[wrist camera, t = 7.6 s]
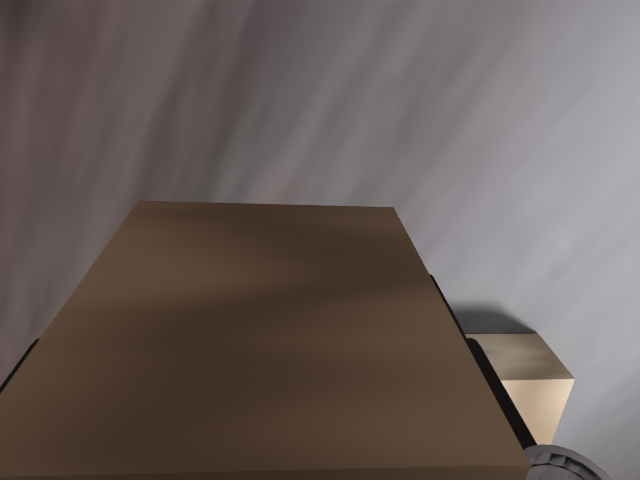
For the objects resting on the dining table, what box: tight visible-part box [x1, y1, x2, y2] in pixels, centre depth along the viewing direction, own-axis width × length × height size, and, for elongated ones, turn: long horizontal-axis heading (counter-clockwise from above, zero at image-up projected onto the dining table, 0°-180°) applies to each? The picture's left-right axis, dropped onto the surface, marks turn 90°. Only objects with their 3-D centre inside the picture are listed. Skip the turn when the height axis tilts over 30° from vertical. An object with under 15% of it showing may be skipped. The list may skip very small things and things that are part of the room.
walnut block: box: [0, 201, 531, 480], centre depth 8 cm, size 5×5×6 cm
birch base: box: [465, 333, 575, 445], centre depth 30 cm, size 16×16×4 cm
